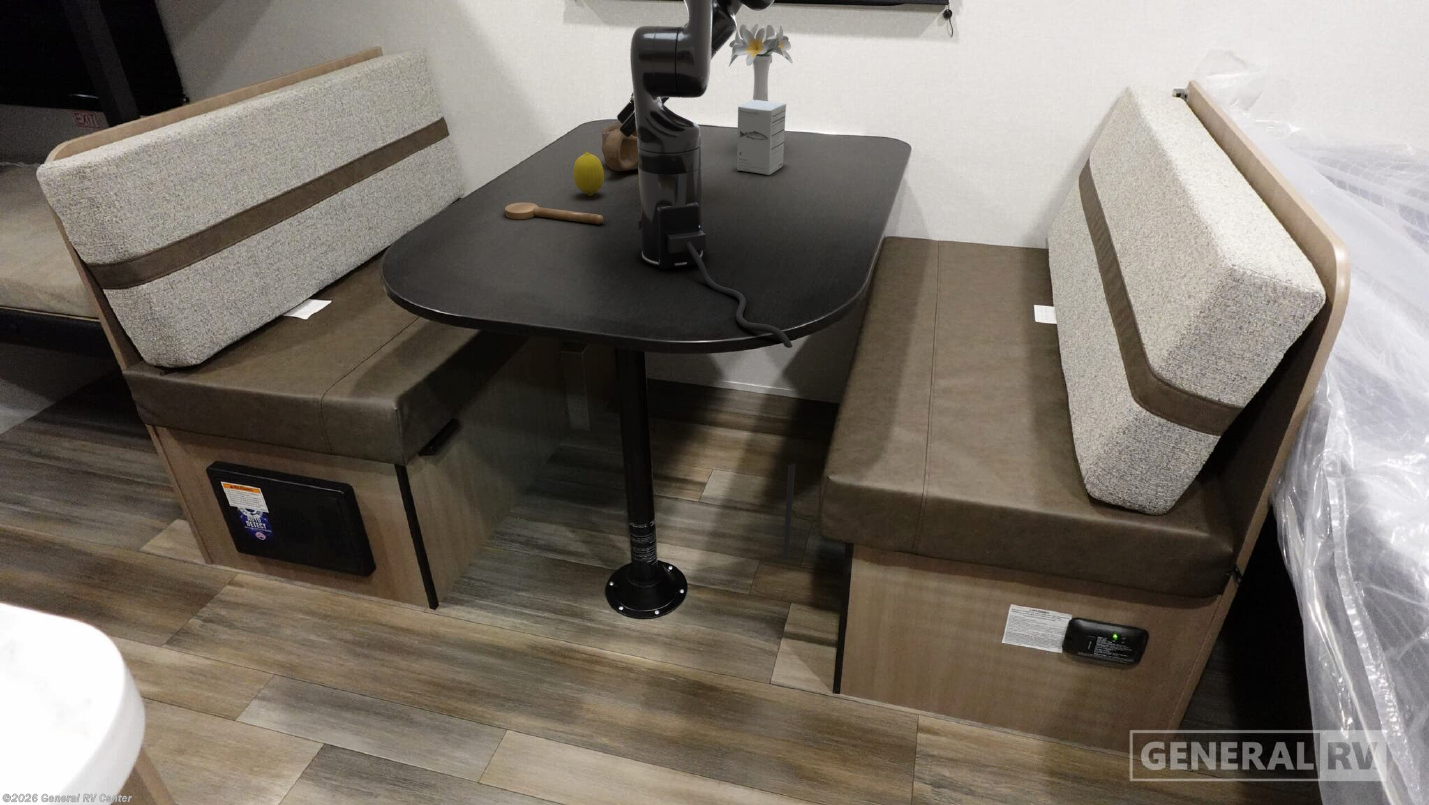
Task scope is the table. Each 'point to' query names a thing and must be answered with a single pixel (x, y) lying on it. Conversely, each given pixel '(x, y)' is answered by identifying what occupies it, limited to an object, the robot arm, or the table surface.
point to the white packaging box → (760, 136)
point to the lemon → (588, 173)
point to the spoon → (549, 213)
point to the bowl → (619, 148)
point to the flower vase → (760, 53)
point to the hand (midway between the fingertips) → (621, 127)
